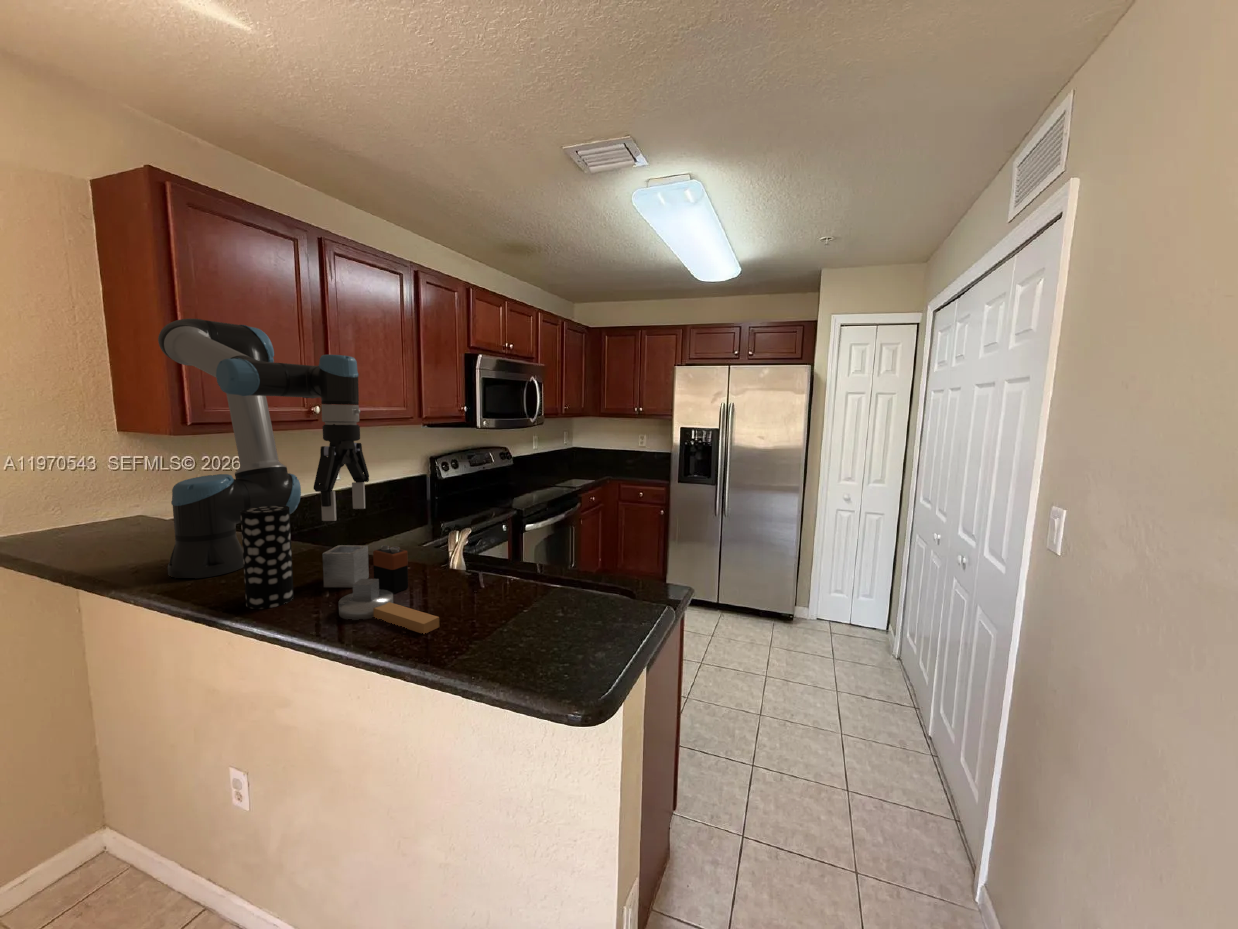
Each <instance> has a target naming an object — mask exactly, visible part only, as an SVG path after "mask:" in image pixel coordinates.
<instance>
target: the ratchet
mask: <svg viewBox="0 0 1238 929" xmlns="http://www.w3.org/2000/svg"><path fill="white" fill-rule="evenodd" d="M338 615H339V617H340V618H342V619H344V620H348V619H352V620H351V621H360V620H359V619H363V620H368V619H373V618H372V617H375V618H374V619H376V618H377V620H379V619H382V620H384V621H383V622H385V621H386V623H389V624H391V623H392V625H394V624H395V626H397V625H398V627H400V626H402V627H401V628H403V627H405V628H404V629H406V628H407V629H406V630H410V631H413V632H416V633H419V634H422V633H423V635H426V634H428V633H429V632H430V633H431V632H432V631H434V630H436V629H438V628H440V617H439V616H437V615H433V614H430V613H427V612H423V611H419V610H416V609H414V608H410V607H406V606H403V605H400V604H397V603H394V594H393V593H392V592H390V591H388V590H381V589H379V579H374V578H367V579H360V580H359V581H357V582H356V583H354V584H353V587H352V593H349V594H346V595H344V596H342V597H340V599H339V601H338ZM382 620H381V621H382ZM425 633H426V634H425Z"/></svg>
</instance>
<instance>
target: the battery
mask: <svg viewBox="0 0 1238 929" xmlns="http://www.w3.org/2000/svg"><path fill="white" fill-rule="evenodd" d="M380 547H381V548H378V549H375V550H373V552H372V556H373V557H372V558H373V559H372V560H373V579H379V589H381V590H388V591H390V592H392V593H393V595H394V594H397V593H399V592H401V591H405V590H408V589H409V570H408V568H409V567H408V565H409V564H408V560H409V558H408V550H405V549H401V548H400V547H399V546H392V547H391V546H389V545H388V544H387V545H386V544H385V545H381V546H380Z"/></svg>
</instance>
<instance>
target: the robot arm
mask: <svg viewBox="0 0 1238 929" xmlns="http://www.w3.org/2000/svg"><path fill="white" fill-rule="evenodd" d="M157 340H158V341H157V342H158V346H159V348H160V350H161V352H162V353H163V354H164V355H165V356H167V358H169V359H171V360H172V361H174V362H176V363H178V364H181V365H183V366H193V367H195V368H196V369H199V370H200V371H203V372H204V373H206V374H208V375H210V376H212V377H214V378H216V382H217V385H218V387H219V388H220V390H221V391H222V392H223V393H225V394H226V399H227V400H226V401H227V403H228V404H227V405H228V409H229V414H230V420H231V424H232V429H233V434H234V440H235V445H236V451H237V455H238V462H239V464H240V465H239V468H238V469H237V470H236V471H235V472H234V477H233V476H232V475H231V474H229V473H228V474H227V473H224V474H222V473H219V474H212V475H211V474H209V475H208V474H207V475H202V476H196V477H192V478H188V479H187V478H186V479H184V480H181V481H179V482H177V483H175V484H174V486H173V487H172V490H171V493H172V494H171V495H172V498H171V506H172V512H173V513H172V514H173V527H174V540H175V542H174V546H173V550H172V553H171V556H170V559H169V561H168V565H167V575H170V576H172V577H175V578H174V579H176V578H195V579H204V578H210V577H216V576H220V575H225V574H229V573H232V572H236V571H237V570H241V569H244V563H243V546H242V545H241V542H240V541H239V539H238V536H237V528H236V526H237V524H241V513H240V511H241V510H243V509H247V508H252V507H259V506H271V505H281V506H288V507H289V510H290V515H291V514H292V513H294V512H295V511H296V509H297V508H298V507H299V504H300V502H301V498H302V496H301V495H302V489H301V488H302V487H301V482H300V479H298V477H297V475H295V474H293V473H290V472H289V471H288V468H287V465H285V464H283V463H281V462H280V461H279V455H278V451H277V446H276V441H275V435H274V431H273V430H274V429H273V426H272V420H271V414H270V409H269V405H268V404H269V403H268V399H267V397H285V398H286V397H290V398H302V399H303V398H304V399H318V398H320V399H321V400H320V402H321V421H322V422H323V423H324V424H323V425H322V427H321V428H322V439H323V441H325V442H328V443H329V445H325V446H323V445H322V446H320V453H319V454H320V456H319V460H318V466H317V468H316V474H315V478H314V483H313V490H314V492H317V493H318V492H319V493H320V502H321V521H323V522H335V521H337V502H336V491H335V490H333V489H334V487H335V485H336V482H337V479H338V477H339V473H340V472H341V469H342V468H343V467H346V468H347V470H348V472H349V474H350V476H351V478H352V480H353V482H351V491H352V494H351V495H352V498H351V499H352V509H353V510H354V509H355V510H358V509H359V510H364V509H366V489H365V488H366V487H365V486H366V485H365V483H368V482H369V481H370V474H369V470H368V467H367V464H366V463H367V462H366V459H365V456H364V452H363V444H362V442H358V441H360V439H361V427H360V425H359V424H357V423H359V422H360V413H361V411H362V410H361V409H360V406H359V404H360V403H359V402H360V400H359V399H360V395H359V388H360V387H359V372H358V361H357V360H356V358H355V357H354V356H350V355H341V354H323V355H321V356H320V358H319V362H318V365H308V364H307V365H306V364H298V363H287V362H286V363H285V362H284V363H283V362H275V360H274V357H275V350H274V346H273V343H272V341H271V339H270V337H269V336H268V334H266V332H264V331H263V330H262V329H261V328H258V327H254V326H250V325H249V326H248V325H245V324H235V323H227V322H220V321H214V320H213V321H212V320H205V319H200V318H182V319H177V320H174V321H172V322H169V323H167V324H166V325H165V326H164V327H163V328H162V329H161V330H160V332H159V334H158V337H157ZM355 441H357V442H355Z"/></svg>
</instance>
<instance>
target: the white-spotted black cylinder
mask: <svg viewBox="0 0 1238 929" xmlns="http://www.w3.org/2000/svg"><path fill="white" fill-rule="evenodd" d="M240 513H241V523H240V526H241V543H242V545H241V547H242V549H243V563H244V567H243V577H244V579H243V580H244V593H245V595H244V596H245V606H246V607H247V608H249V609H252V610H253V609H254V610H263V609H271V608H277V607H279V606H282V605H286V604H288V603H290V602H292V601H293V600H294V599H295V597H294V596H295V594H294V576H293V575H294V574H293V556H292V555H293V554H292V534H291V514H290V510H289V507H288V506H281V505H271V506H259V507H252V508H247V509H243V510H241V511H240ZM292 599H293V600H292ZM285 603H286V604H285Z"/></svg>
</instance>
